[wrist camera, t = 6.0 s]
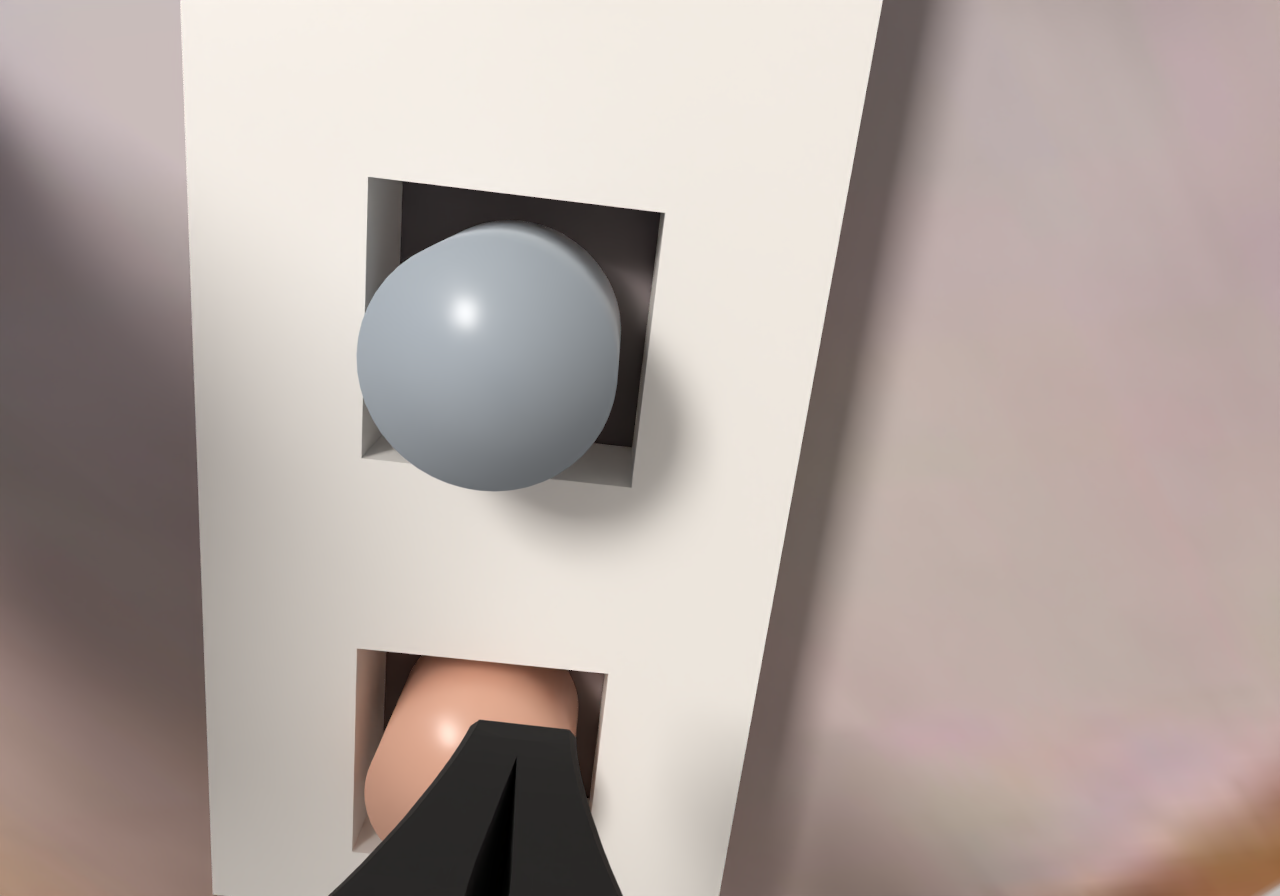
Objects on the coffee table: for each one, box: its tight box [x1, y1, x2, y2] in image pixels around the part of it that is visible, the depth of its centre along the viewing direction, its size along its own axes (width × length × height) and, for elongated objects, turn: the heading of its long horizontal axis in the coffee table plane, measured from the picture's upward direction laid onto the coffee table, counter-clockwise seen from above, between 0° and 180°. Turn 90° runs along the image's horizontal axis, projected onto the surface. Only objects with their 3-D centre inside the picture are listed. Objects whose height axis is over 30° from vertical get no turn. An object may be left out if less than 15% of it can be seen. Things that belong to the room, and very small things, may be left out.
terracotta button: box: [364, 655, 578, 841], centre depth 19 cm, size 4×4×3 cm
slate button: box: [357, 220, 621, 491], centre depth 16 cm, size 4×4×3 cm
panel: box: [180, 0, 883, 896], centre depth 17 cm, size 11×26×2 cm, turn 173°
